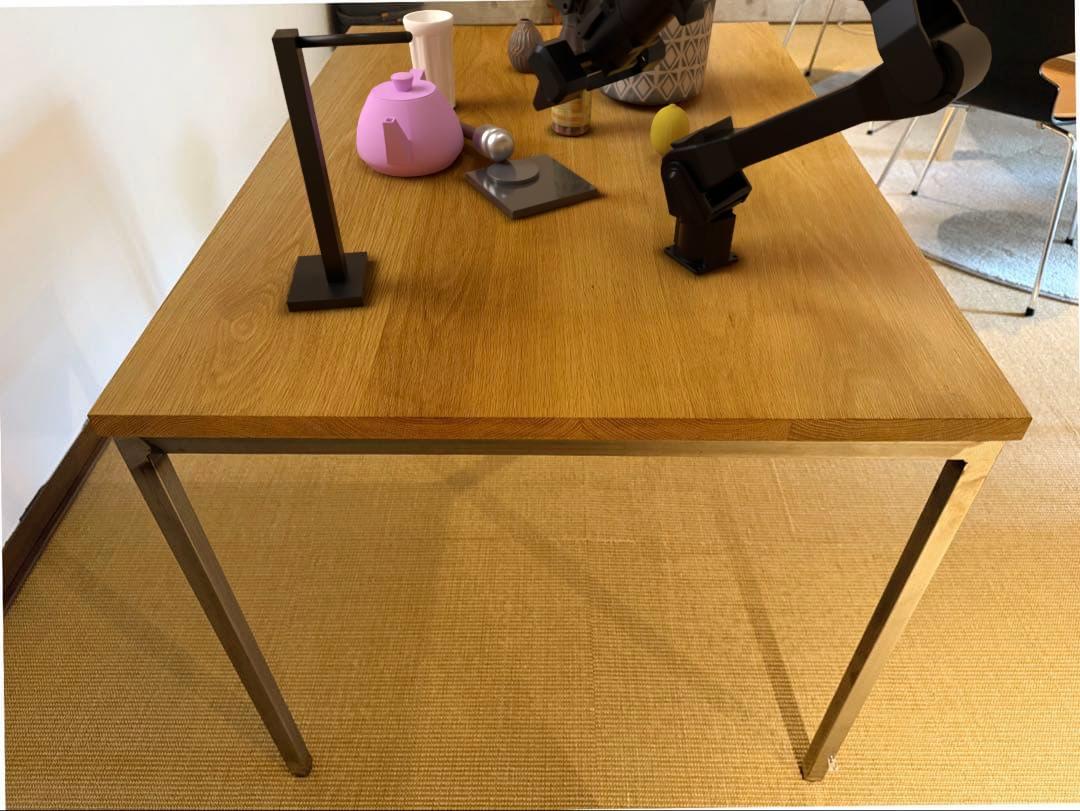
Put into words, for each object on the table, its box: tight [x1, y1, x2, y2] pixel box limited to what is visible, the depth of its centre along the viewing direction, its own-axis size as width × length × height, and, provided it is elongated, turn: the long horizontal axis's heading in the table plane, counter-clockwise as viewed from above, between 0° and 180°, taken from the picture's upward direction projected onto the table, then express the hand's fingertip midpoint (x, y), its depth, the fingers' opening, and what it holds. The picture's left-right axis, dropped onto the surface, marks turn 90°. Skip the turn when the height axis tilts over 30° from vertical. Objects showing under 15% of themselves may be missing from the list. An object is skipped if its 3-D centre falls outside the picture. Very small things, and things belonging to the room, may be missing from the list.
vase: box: [507, 17, 545, 74], centre depth 141 cm, size 7×7×9 cm
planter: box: [597, 0, 717, 106], centre depth 127 cm, size 19×19×16 cm
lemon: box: [650, 103, 691, 157], centre depth 109 cm, size 6×6×8 cm
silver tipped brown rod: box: [459, 120, 516, 163], centre depth 114 cm, size 4×4×26 cm
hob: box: [464, 152, 599, 220], centre depth 104 cm, size 14×13×2 cm
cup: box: [402, 9, 456, 109], centre depth 124 cm, size 8×8×14 cm
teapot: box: [355, 68, 465, 178], centre depth 109 cm, size 22×16×12 cm
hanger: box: [271, 27, 413, 312], centre depth 78 cm, size 16×10×26 cm, turn 97°
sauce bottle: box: [550, 14, 594, 137], centre depth 114 cm, size 7×6×20 cm
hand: (561, 97), depth 92 cm, fingers open, 9 cm apart
